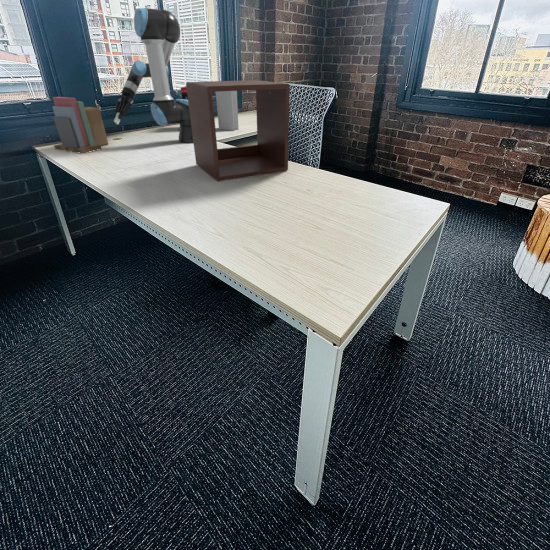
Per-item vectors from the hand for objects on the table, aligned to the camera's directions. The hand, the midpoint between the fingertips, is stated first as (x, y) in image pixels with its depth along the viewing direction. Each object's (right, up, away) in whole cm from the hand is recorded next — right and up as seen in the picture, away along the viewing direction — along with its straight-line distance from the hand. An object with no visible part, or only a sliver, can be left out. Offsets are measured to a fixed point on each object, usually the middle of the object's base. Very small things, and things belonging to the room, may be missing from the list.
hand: (115, 122), depth 208 cm
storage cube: (+84, -45, -50) cm, 107 cm away
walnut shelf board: (-13, -23, -18) cm, 32 cm away
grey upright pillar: (+66, +11, +35) cm, 76 cm away
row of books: (-13, -21, -18) cm, 31 cm away
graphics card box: (+40, +13, +37) cm, 56 cm away
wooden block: (-7, -18, -9) cm, 21 cm away
